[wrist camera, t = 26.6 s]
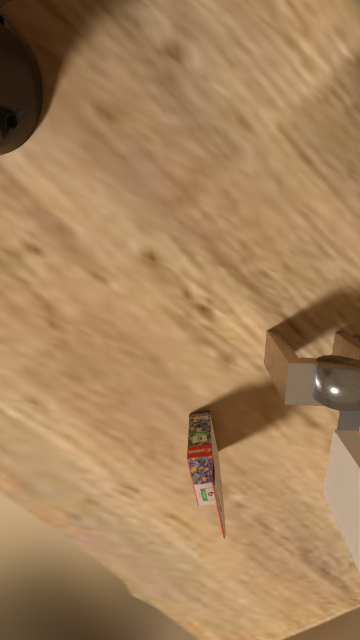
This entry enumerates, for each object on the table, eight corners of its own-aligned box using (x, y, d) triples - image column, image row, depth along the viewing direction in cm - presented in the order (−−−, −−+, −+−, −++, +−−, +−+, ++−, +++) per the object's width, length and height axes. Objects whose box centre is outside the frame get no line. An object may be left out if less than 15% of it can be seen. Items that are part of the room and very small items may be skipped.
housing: (266, 330, 42) (296, 373, 29) (346, 332, 41) (413, 377, 28) (264, 363, 43) (291, 417, 30) (341, 365, 42) (402, 422, 30)
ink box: (197, 454, 49) (196, 543, 35) (188, 412, 46) (182, 489, 32) (219, 451, 48) (227, 540, 34) (211, 409, 46) (215, 486, 32)
